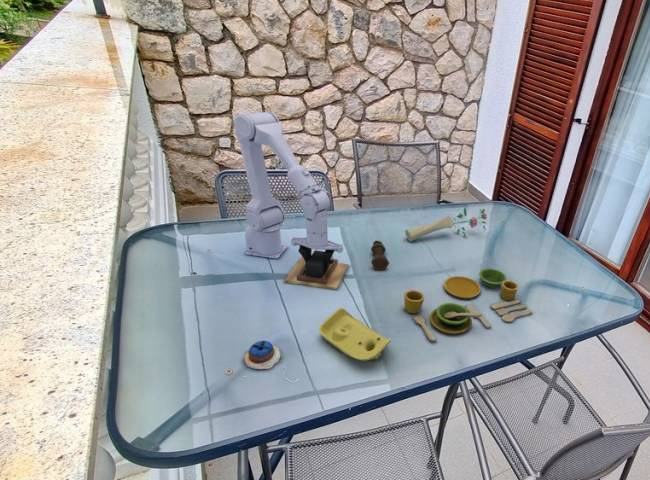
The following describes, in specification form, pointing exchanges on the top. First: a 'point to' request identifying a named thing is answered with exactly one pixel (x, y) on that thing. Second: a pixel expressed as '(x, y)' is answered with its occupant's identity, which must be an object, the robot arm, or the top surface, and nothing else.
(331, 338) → the plastic component
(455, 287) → the tableware set
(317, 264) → the black rectangular block
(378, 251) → the brown figurine
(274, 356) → the dessert
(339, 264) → the mount plate
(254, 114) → the robot arm
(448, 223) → the flower vase
